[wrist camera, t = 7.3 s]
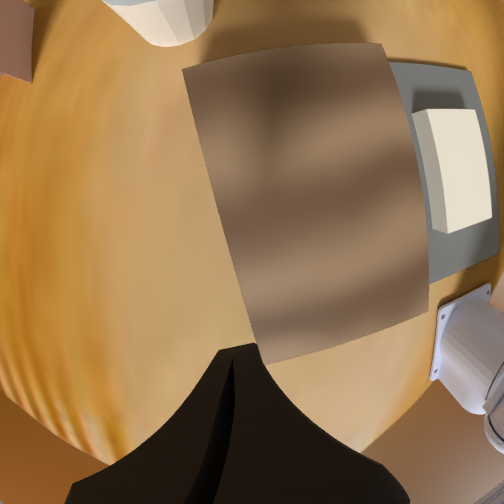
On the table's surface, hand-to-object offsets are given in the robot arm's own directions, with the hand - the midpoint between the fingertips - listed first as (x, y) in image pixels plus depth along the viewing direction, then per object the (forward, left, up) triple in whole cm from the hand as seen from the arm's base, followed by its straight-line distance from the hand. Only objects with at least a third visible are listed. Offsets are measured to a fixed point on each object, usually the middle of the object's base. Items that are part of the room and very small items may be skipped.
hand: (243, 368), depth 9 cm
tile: (+4, -18, -9) cm, 21 cm away
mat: (+4, -19, -10) cm, 22 cm away
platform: (+4, -6, -10) cm, 13 cm away
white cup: (+20, 0, -11) cm, 23 cm away
